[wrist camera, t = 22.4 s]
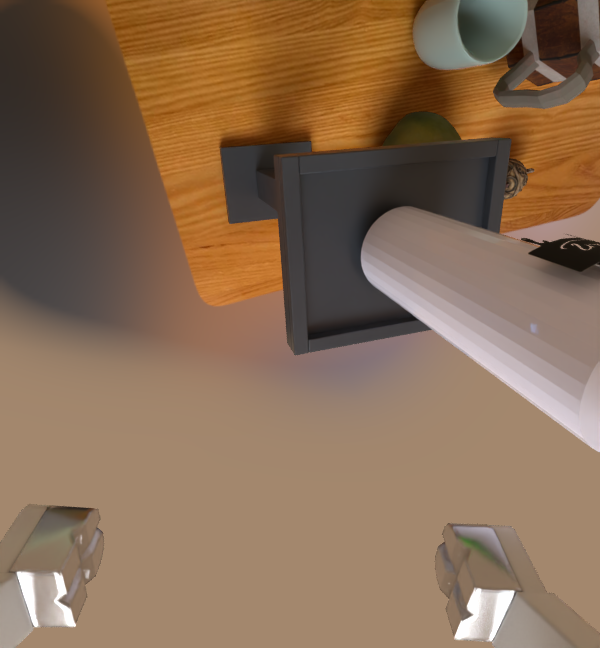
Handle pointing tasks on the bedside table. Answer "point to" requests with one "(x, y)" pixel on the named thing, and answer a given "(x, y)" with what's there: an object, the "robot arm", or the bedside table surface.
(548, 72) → the mug
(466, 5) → the cup
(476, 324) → the perfume bottle
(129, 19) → the bedside table surface
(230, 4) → the bedside table surface
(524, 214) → the bedside table surface
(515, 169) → the pendant
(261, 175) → the pedestal tray stand
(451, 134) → the fruit
